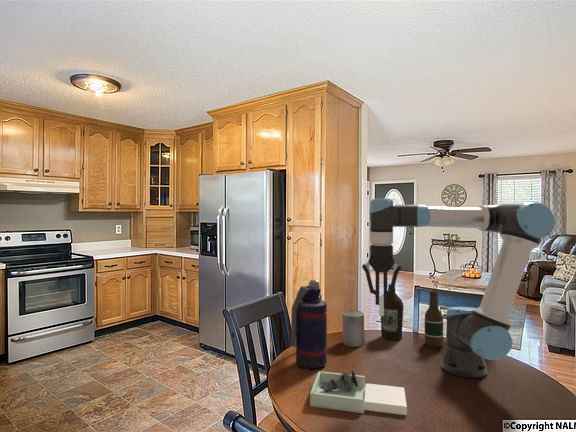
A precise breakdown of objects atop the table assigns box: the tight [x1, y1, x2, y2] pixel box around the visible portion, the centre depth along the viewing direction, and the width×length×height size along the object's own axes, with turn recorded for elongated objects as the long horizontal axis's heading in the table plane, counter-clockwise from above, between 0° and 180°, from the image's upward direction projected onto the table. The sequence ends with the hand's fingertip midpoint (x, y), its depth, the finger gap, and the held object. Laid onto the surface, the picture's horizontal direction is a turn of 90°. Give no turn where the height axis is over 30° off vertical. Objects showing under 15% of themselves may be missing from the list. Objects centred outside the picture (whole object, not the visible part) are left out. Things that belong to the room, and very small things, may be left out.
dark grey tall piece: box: [320, 370, 358, 392], centre depth 118 cm, size 6×6×12 cm
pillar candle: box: [342, 309, 365, 348], centre depth 164 cm, size 10×10×15 cm
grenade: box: [290, 285, 328, 371], centre depth 140 cm, size 14×12×30 cm
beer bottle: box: [424, 289, 444, 348], centre depth 162 cm, size 8×8×24 cm
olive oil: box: [380, 283, 404, 342], centre depth 171 cm, size 11×11×25 cm
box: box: [309, 370, 366, 414], centre depth 116 cm, size 16×16×4 cm
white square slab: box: [364, 383, 408, 416], centre depth 112 cm, size 12×12×2 cm
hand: (381, 314), depth 122 cm, fingers closed
